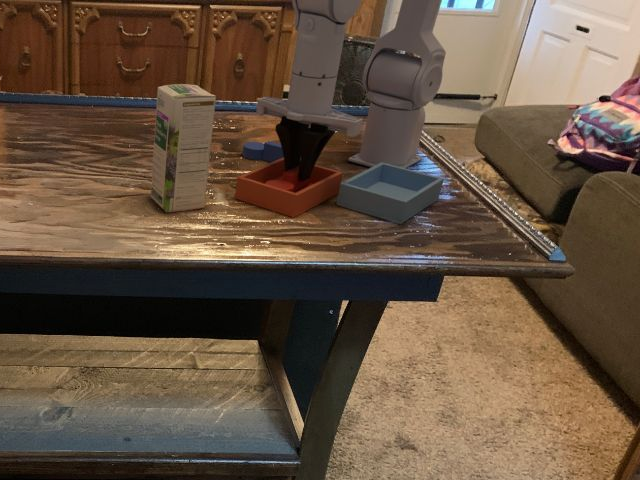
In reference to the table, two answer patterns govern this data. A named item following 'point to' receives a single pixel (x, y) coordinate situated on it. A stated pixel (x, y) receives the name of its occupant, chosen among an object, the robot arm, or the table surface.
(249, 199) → the red bin
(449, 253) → the table surface
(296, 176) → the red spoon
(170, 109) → the syrup box
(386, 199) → the blue bin
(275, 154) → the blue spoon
